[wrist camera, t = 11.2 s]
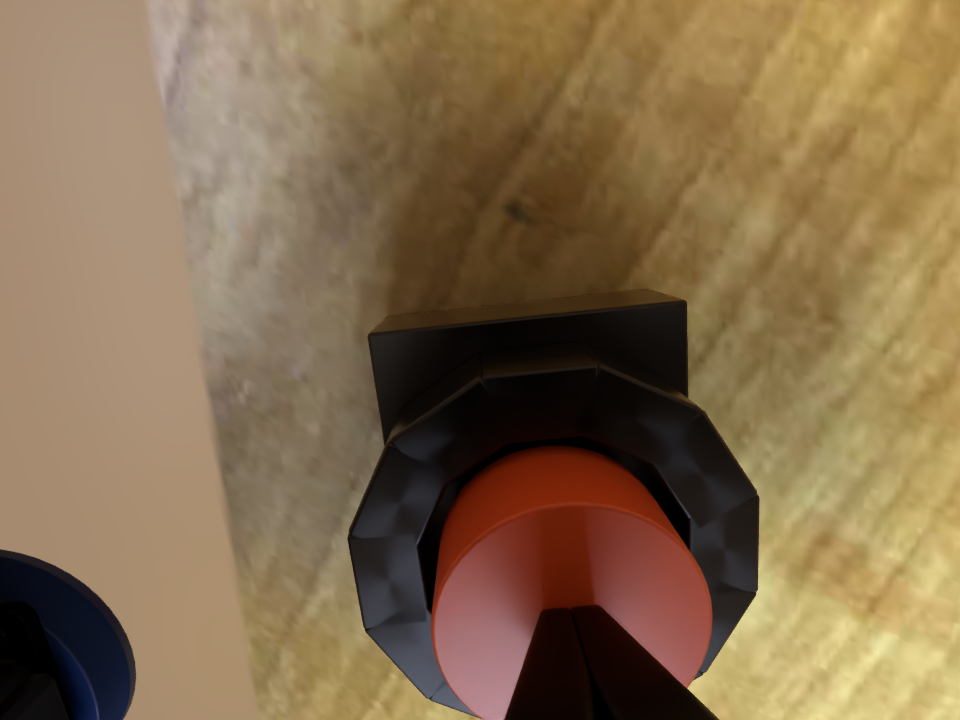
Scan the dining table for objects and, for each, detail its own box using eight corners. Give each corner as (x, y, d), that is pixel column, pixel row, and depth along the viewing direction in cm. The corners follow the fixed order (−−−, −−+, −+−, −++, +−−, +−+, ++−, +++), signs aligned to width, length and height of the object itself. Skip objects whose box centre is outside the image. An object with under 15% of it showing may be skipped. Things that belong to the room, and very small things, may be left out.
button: (453, 653, 10) (448, 757, 8) (426, 456, 9) (412, 518, 7) (666, 632, 10) (714, 733, 8) (661, 432, 9) (713, 488, 7)
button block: (413, 619, 14) (388, 770, 10) (365, 318, 12) (313, 358, 8) (676, 594, 14) (756, 736, 10) (670, 285, 12) (764, 311, 8)
